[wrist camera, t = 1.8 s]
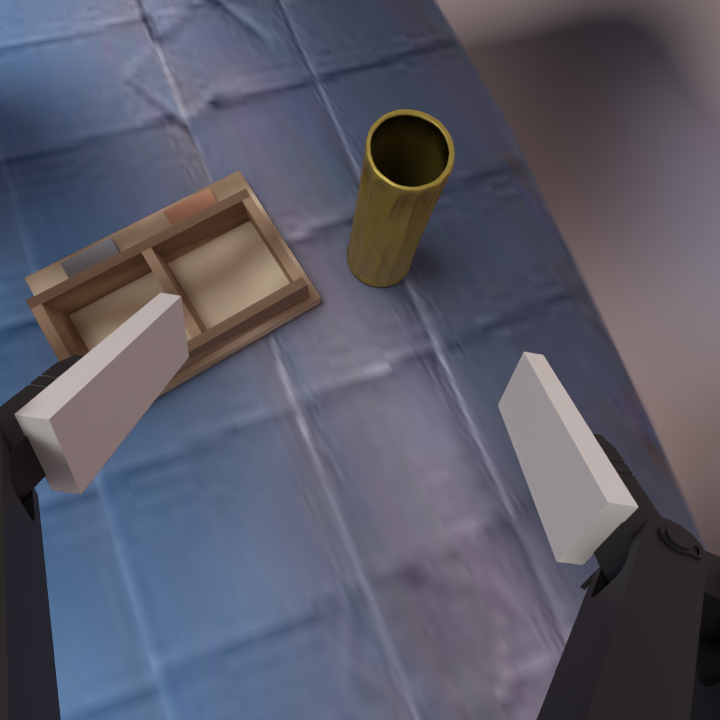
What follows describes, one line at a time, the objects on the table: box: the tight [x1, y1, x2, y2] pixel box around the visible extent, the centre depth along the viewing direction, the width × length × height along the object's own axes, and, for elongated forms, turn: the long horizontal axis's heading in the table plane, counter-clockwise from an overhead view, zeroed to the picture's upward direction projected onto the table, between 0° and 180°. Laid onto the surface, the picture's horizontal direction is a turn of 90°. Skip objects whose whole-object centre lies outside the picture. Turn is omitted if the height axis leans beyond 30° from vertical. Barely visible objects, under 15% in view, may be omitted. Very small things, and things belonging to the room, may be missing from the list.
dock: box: [25, 171, 321, 398], centre depth 31 cm, size 14×20×4 cm
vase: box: [347, 109, 454, 287], centre depth 28 cm, size 6×6×14 cm
